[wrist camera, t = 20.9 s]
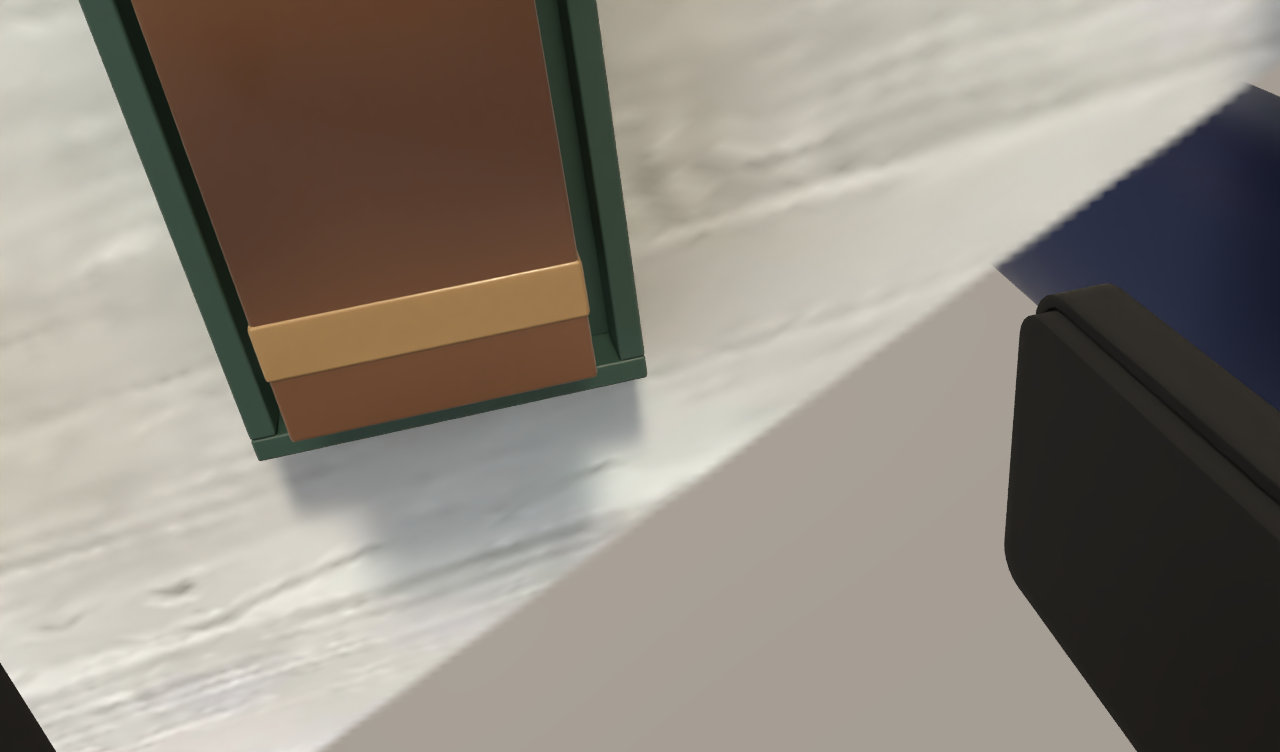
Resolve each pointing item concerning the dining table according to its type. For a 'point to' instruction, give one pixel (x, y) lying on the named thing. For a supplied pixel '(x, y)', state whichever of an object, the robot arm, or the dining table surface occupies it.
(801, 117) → the dining table surface
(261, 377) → the tray
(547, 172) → the walnut box
